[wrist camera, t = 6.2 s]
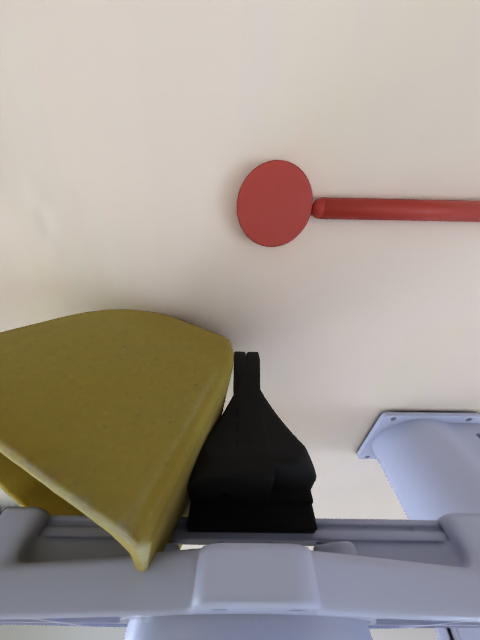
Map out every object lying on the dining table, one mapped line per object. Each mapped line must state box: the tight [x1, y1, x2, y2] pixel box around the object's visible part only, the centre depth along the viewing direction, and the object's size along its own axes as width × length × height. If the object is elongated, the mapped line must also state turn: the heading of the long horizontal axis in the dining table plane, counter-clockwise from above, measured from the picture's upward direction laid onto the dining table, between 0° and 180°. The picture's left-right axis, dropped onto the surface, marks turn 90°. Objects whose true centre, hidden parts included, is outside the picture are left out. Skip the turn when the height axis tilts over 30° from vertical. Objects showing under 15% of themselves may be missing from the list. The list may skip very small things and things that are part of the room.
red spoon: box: [237, 160, 480, 247], centre depth 10 cm, size 14×4×1 cm, turn 89°
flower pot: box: [0, 310, 234, 572], centre depth 10 cm, size 9×9×9 cm
